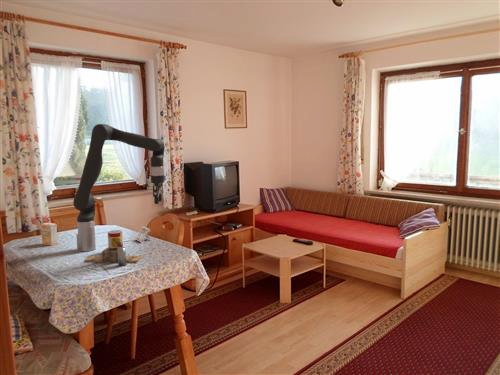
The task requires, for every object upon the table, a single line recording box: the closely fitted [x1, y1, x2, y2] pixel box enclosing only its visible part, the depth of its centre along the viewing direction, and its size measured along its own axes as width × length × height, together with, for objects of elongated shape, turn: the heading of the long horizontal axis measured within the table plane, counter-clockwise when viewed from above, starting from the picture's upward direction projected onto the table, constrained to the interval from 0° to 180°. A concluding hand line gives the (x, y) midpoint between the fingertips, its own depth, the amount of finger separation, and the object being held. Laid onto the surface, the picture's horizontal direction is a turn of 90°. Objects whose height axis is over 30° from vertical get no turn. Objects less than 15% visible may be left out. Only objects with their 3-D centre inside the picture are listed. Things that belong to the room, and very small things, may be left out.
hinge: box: [84, 247, 143, 264], centre depth 209 cm, size 28×8×6 cm, turn 86°
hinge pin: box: [117, 246, 127, 267], centre depth 200 cm, size 4×4×9 cm
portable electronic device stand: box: [134, 226, 151, 243], centre depth 248 cm, size 9×8×8 cm
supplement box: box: [40, 222, 59, 247], centre depth 241 cm, size 8×5×13 cm, turn 68°
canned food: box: [107, 229, 124, 248], centre depth 223 cm, size 8×8×12 cm
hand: (158, 202), depth 222 cm, fingers open, 8 cm apart
